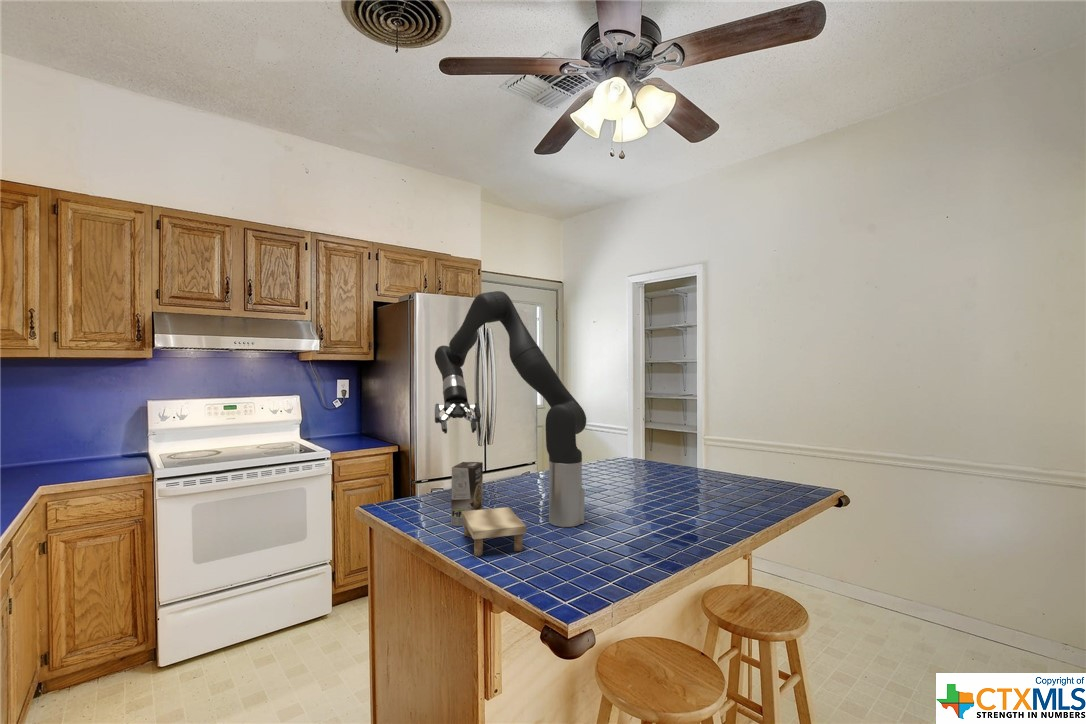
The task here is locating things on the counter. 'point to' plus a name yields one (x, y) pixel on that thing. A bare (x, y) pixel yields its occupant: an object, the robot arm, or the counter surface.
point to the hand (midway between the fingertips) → (459, 431)
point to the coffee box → (466, 490)
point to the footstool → (493, 526)
